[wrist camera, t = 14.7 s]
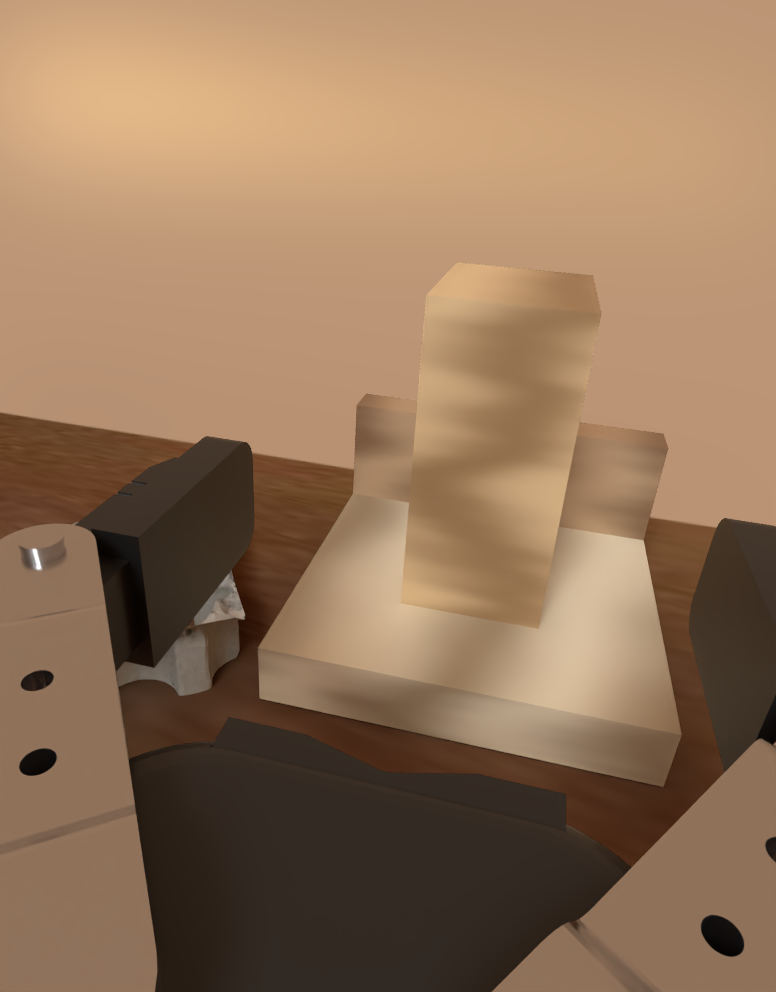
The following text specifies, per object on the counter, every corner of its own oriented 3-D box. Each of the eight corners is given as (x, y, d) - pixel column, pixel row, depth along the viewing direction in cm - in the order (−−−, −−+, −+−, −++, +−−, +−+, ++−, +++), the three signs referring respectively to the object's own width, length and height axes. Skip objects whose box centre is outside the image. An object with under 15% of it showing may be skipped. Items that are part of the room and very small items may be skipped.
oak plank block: (400, 603, 23) (426, 295, 18) (431, 518, 28) (457, 262, 23) (538, 628, 22) (601, 313, 17) (543, 536, 27) (593, 275, 23)
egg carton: (222, 573, 28) (217, 482, 26) (255, 703, 22) (252, 596, 20) (-86, 614, 24) (-117, 512, 23) (-152, 784, 18) (-202, 662, 16)
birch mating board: (259, 698, 21) (254, 531, 19) (360, 518, 32) (366, 393, 29) (663, 787, 19) (724, 613, 17) (629, 562, 30) (663, 433, 27)
